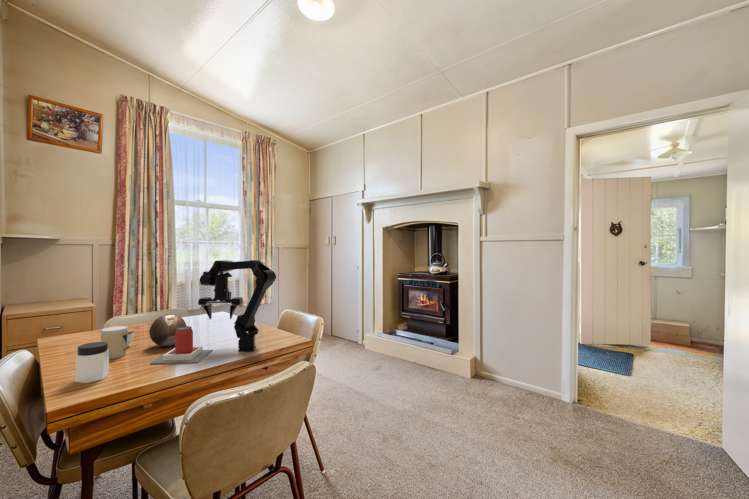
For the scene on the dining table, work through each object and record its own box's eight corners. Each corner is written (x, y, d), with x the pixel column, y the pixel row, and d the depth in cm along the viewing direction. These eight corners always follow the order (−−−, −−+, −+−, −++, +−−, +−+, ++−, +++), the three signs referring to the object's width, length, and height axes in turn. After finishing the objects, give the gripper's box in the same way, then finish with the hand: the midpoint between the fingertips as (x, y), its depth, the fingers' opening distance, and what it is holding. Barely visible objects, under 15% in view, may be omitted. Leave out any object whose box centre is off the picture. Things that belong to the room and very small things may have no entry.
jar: (106, 372, 120) (106, 340, 120) (111, 377, 114) (111, 344, 114) (73, 379, 113) (74, 345, 113) (77, 385, 108) (77, 350, 108)
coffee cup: (129, 356, 138) (130, 328, 138) (101, 361, 131) (101, 332, 131) (125, 351, 144) (125, 324, 144) (98, 356, 137) (98, 328, 137)
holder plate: (212, 350, 146) (212, 344, 146) (197, 363, 130) (197, 356, 130) (170, 351, 144) (170, 345, 144) (150, 364, 128) (150, 357, 128)
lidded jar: (104, 346, 150) (104, 327, 150) (133, 342, 157) (133, 323, 157) (104, 352, 142) (104, 331, 142) (134, 348, 149) (134, 328, 149)
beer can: (196, 354, 138) (196, 326, 139) (181, 359, 133) (181, 330, 133) (186, 352, 141) (186, 325, 141) (171, 356, 135) (171, 328, 135)
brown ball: (158, 352, 143) (159, 319, 143) (143, 347, 151) (143, 315, 151) (192, 344, 155) (193, 313, 155) (176, 339, 163) (177, 310, 163)
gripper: (246, 284, 162) (245, 315, 162) (207, 284, 160) (206, 315, 160) (239, 287, 151) (239, 320, 151) (197, 287, 149) (197, 320, 149)
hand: (220, 319), depth 153 cm, fingers open, 9 cm apart
